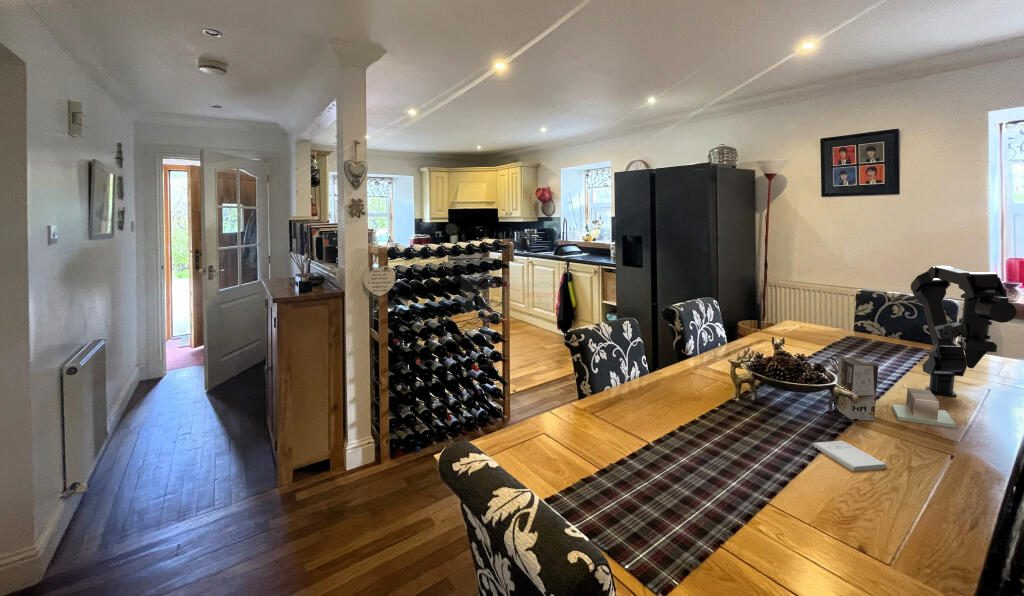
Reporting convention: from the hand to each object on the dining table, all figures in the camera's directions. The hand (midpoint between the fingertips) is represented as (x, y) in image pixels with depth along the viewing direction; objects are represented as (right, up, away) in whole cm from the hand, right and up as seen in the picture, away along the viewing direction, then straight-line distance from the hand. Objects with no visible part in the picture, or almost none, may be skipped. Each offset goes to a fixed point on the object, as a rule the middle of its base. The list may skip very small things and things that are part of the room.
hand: (970, 367), depth 137 cm
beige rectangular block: (-14, -9, +1) cm, 17 cm away
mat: (-18, -13, -4) cm, 23 cm away
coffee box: (-35, -14, -1) cm, 37 cm away
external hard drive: (-54, -18, -25) cm, 62 cm away
